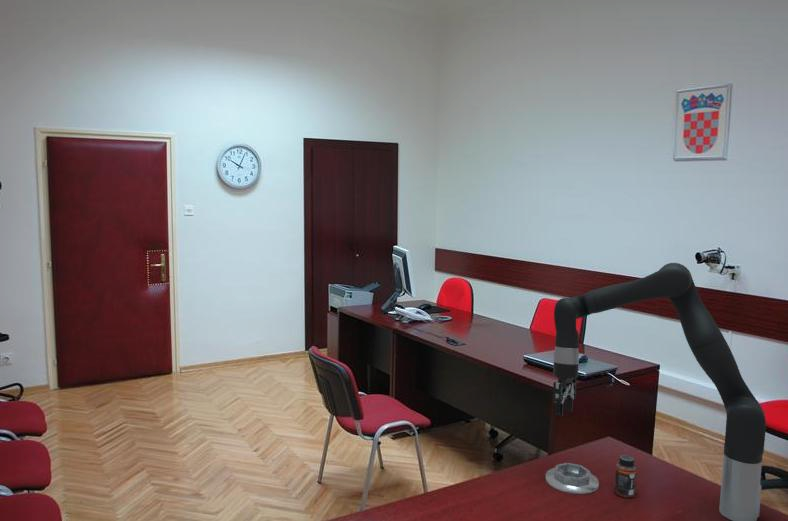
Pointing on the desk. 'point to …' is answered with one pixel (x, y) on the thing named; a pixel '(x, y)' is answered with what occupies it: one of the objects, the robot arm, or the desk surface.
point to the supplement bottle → (625, 477)
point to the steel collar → (572, 479)
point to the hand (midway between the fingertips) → (563, 413)
